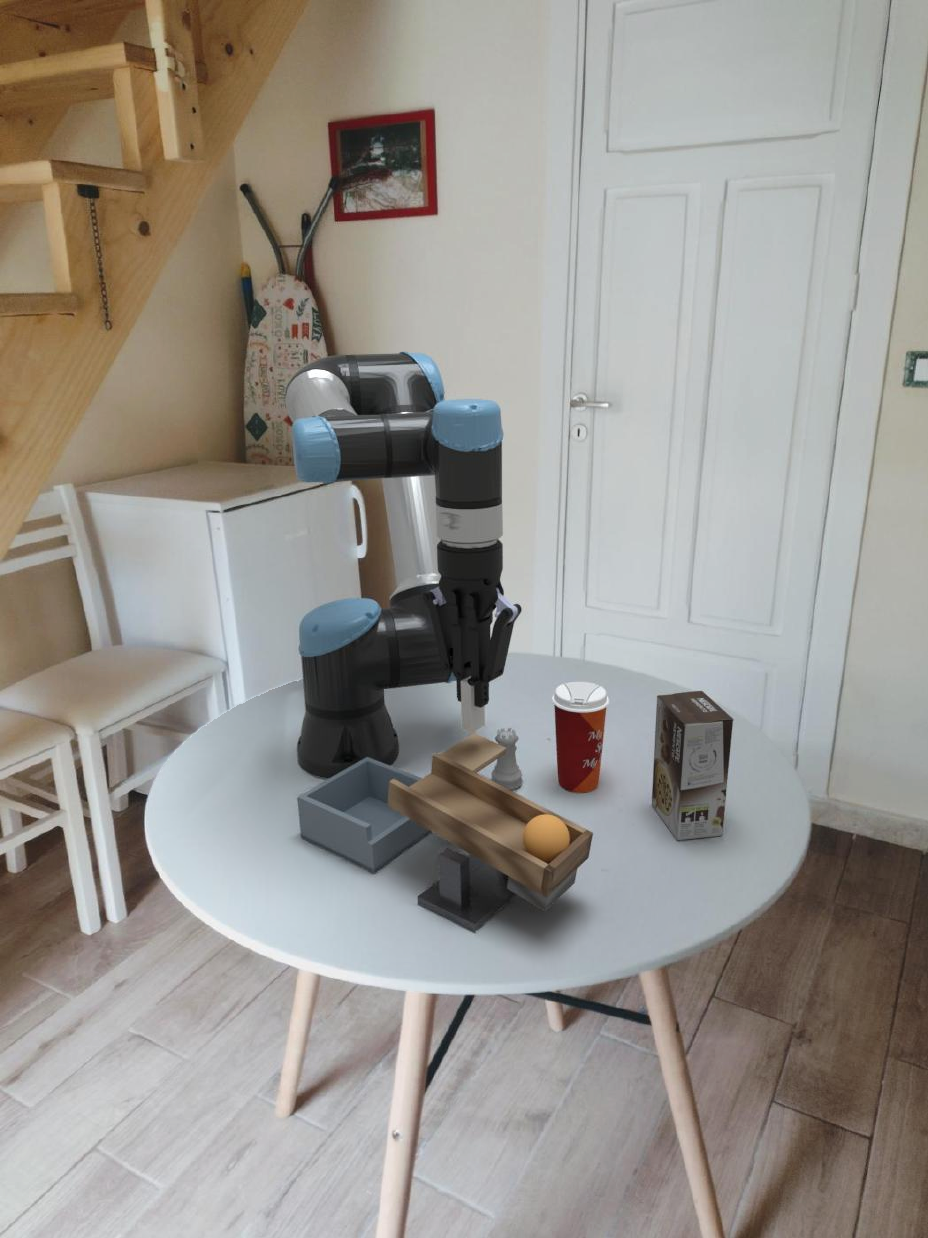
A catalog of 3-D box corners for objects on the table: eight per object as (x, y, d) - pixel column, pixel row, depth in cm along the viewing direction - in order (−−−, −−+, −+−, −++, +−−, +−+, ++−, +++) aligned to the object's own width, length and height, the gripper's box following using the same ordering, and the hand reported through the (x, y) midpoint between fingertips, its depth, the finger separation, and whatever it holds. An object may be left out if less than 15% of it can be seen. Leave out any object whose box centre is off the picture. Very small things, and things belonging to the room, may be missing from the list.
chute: (614, 849, 102) (623, 805, 100) (542, 920, 91) (550, 872, 88) (466, 772, 114) (471, 731, 111) (386, 826, 102) (389, 781, 100)
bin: (301, 838, 110) (297, 796, 108) (369, 795, 120) (367, 757, 118) (374, 873, 103) (371, 830, 101) (440, 825, 112) (439, 784, 110)
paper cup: (604, 799, 118) (608, 705, 113) (547, 794, 119) (549, 701, 114) (607, 771, 125) (610, 681, 120) (553, 766, 126) (555, 677, 122)
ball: (507, 848, 94) (523, 818, 91) (532, 827, 97) (549, 797, 94) (542, 880, 92) (560, 850, 89) (567, 857, 95) (585, 828, 93)
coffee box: (724, 836, 109) (735, 719, 103) (676, 842, 108) (684, 724, 103) (694, 798, 117) (703, 688, 112) (649, 803, 116) (655, 693, 111)
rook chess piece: (513, 795, 119) (512, 742, 116) (485, 786, 121) (484, 734, 119) (528, 780, 123) (528, 729, 120) (500, 772, 125) (500, 722, 122)
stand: (417, 904, 98) (415, 850, 95) (495, 841, 109) (495, 792, 106) (474, 932, 93) (473, 876, 91) (550, 864, 104) (550, 813, 102)
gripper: (404, 539, 100) (413, 725, 108) (497, 555, 92) (499, 753, 100) (445, 526, 106) (450, 704, 113) (535, 540, 98) (534, 730, 106)
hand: (473, 727), depth 107 cm, fingers closed
